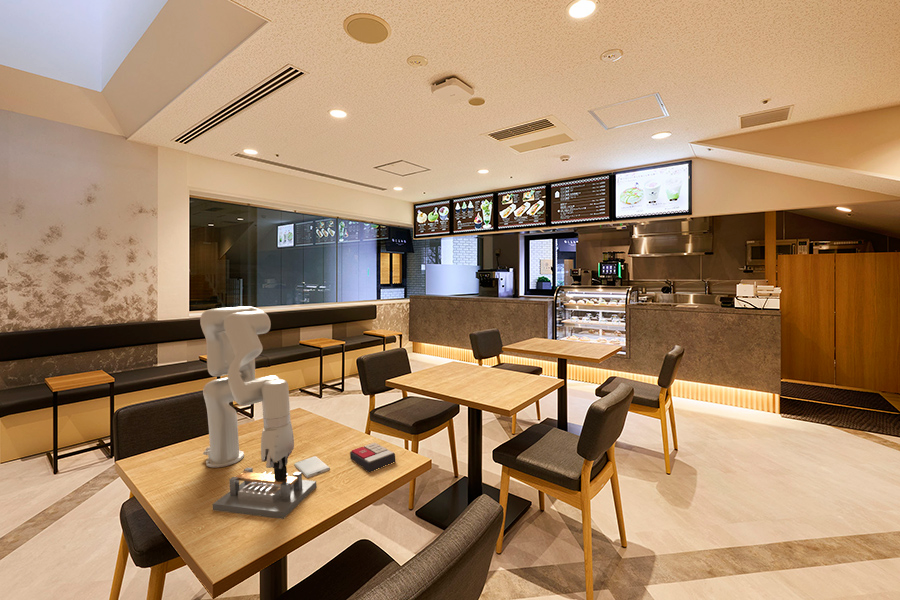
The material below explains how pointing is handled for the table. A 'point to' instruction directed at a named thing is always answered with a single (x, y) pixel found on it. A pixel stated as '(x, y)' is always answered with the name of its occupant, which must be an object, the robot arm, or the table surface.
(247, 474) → the retention strap
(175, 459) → the table surface
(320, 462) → the hard drive
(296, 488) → the heat sink
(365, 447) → the calculator
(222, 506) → the grey mounting plate
